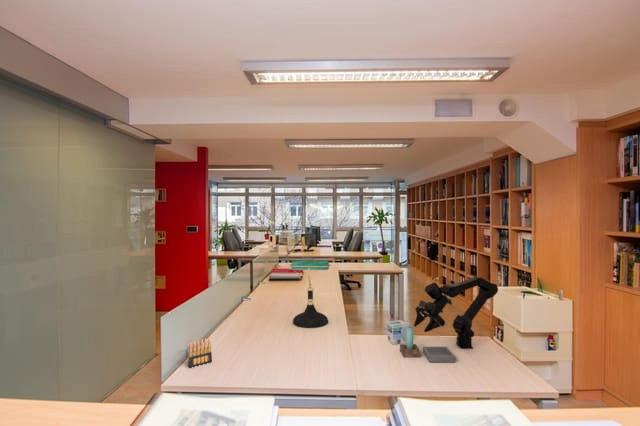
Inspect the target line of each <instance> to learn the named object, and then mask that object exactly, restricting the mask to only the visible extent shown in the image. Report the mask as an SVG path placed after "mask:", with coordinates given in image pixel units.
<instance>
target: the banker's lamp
mask: <svg viewBox="0 0 640 426" xmlns="http://www.w3.org/2000/svg"><path fill="white" fill-rule="evenodd" d="M329 262H330V261H328V260H320V259H319V260H316V259H315V260H314V259H313V260H308V259H307V260H292V261H291V264H290V265H289V267H290V268H291V271H292V270H293V271H307V278H308V282H309V285H308V287H307V301H308V302H307V304H306V307H305V308H304V311H303V312H301V313H298V314H296V316H294V317H293V320H292V324H293V325H294V326H296V327H298V328H302V329H303V328H304V329H316V328H322V327H324V326H326V325H328V324H329V319H328V317H327V316H326V314H323V313H322V312H318V310H317V309H316V308H315V305H314V302H313V301H314V289H313V287H312V283H311V279H310V271H328V270H329V269H330V268H331V264H330V263H329Z"/></svg>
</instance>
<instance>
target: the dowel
mask: <svg viewBox="0 0 640 426" xmlns="http://www.w3.org/2000/svg"><path fill="white" fill-rule="evenodd" d="M405 344H406V349H413V344H414V328H413V327H412V326H410V327H406V343H405Z"/></svg>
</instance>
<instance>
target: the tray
mask: <svg viewBox="0 0 640 426" xmlns="http://www.w3.org/2000/svg"><path fill="white" fill-rule="evenodd" d="M422 354H423V355H424V357H425V358H426V359H427V361H428V362H429V363H430V364H432V363H435V364H439V363H441V364H452V363H453V364H454V363H456V356H455V354H454V353H453V352H452V351H451V350H450V348H449V347H448V346H422Z"/></svg>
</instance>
